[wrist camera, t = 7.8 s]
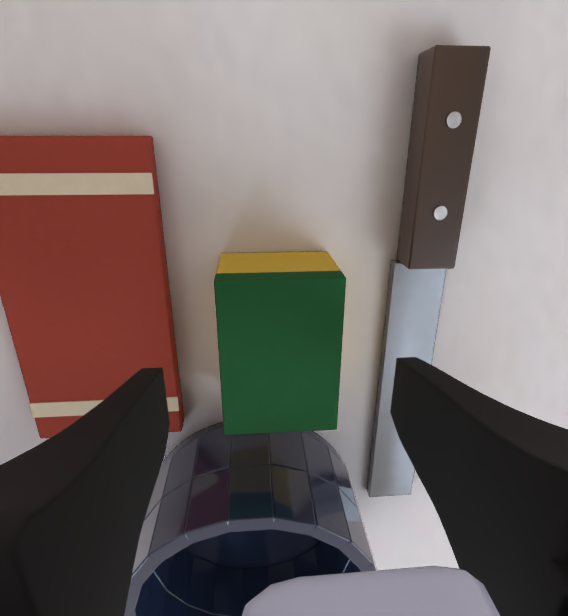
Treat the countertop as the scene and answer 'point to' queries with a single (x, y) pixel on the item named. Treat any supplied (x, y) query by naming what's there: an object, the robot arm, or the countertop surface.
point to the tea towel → (84, 271)
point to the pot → (244, 522)
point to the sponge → (279, 340)
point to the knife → (426, 233)
